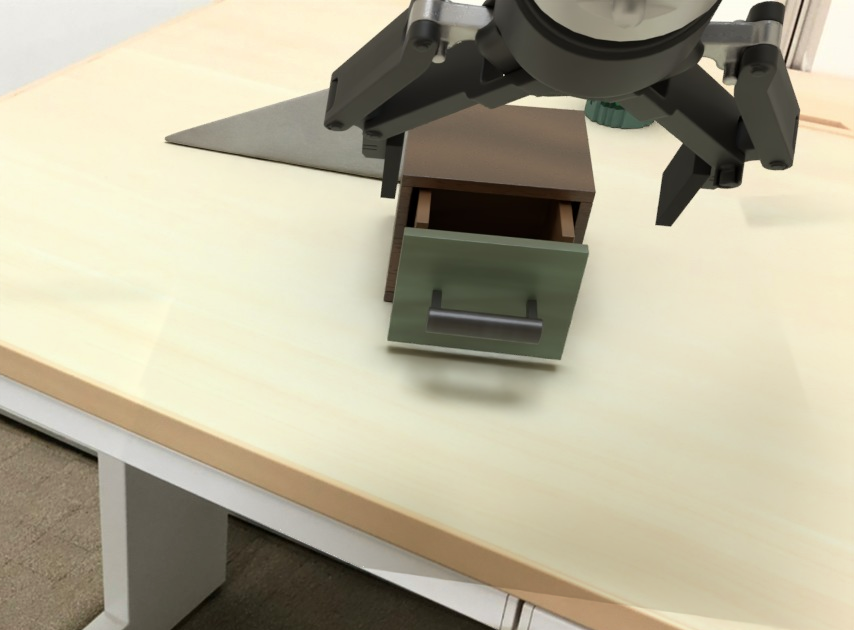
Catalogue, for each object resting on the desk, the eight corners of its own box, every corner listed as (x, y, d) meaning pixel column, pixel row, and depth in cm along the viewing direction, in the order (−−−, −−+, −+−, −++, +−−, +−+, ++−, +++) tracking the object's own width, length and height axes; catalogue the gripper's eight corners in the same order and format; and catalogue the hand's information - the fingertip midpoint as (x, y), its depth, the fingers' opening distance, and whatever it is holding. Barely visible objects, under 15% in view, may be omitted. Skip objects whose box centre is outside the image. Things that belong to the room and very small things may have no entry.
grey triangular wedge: (152, 179, 106) (423, 144, 100) (153, 100, 108) (417, 61, 103) (175, 243, 115) (424, 213, 110) (175, 168, 117) (419, 137, 112)
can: (575, 105, 119) (615, -65, 109) (636, 102, 120) (681, -67, 110) (600, 129, 114) (644, -46, 105) (663, 126, 115) (713, -48, 105)
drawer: (563, 395, 79) (593, 285, 74) (382, 374, 81) (399, 265, 76) (553, 266, 92) (578, 165, 87) (398, 251, 94) (414, 151, 89)
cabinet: (562, 320, 88) (596, 191, 82) (383, 301, 90) (402, 174, 84) (555, 229, 99) (584, 110, 93) (395, 214, 101) (413, 97, 95)
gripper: (245, 24, 44) (271, 231, 65) (1013, 82, 40) (778, 285, 61) (278, -174, 45) (294, 94, 66) (1040, -138, 40) (798, 138, 61)
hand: (526, 186), depth 63 cm, fingers open, 13 cm apart
